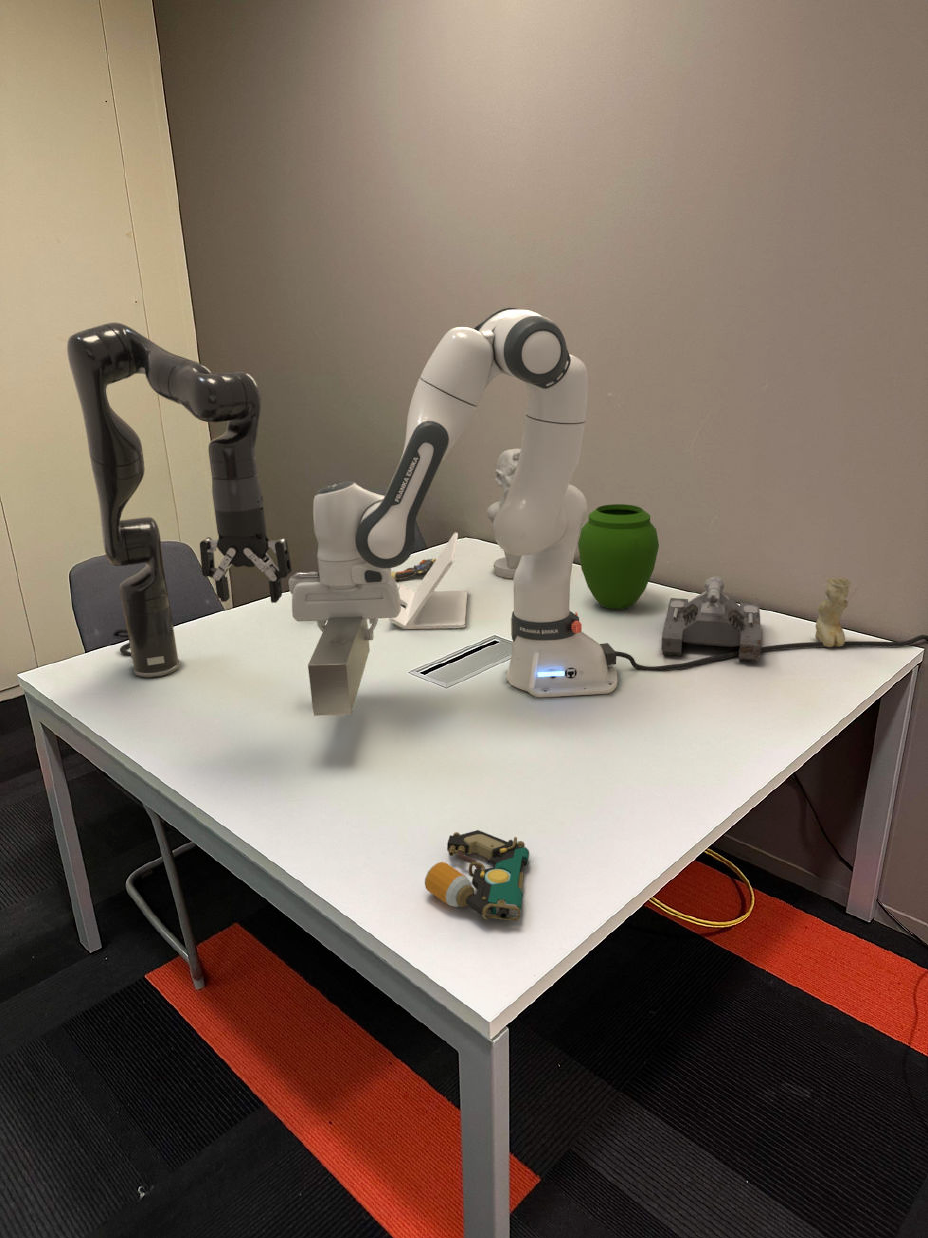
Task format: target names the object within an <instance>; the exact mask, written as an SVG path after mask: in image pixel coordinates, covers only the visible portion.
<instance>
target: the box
mask: <svg viewBox="0 0 928 1238" xmlns="http://www.w3.org/2000/svg"><path fill="white" fill-rule="evenodd" d="M325 625H326V626H325V628H324V631H323V632H321V635H320V637H319V640H318V642H317V644H316V647H315V649H314V650H313V653H312V656H311V658H310V660H309V662H308V664H307V669H308V679H309V687H310V688H309V689H310V696H311V705H312V712H313V713H312V714H313V717H317V716H318V717H320V716H323V717H324V716H344V715H345V716H346V715H347V716H348V715H352V713H353V709H354V706H355V704H356V703H355V702H356V699H357V696H358V692H359V688H360V686H361V683H362V682H361V681H362V678H363V675H364V671H365V668H366V665H367V661H368V658H369V654H370V651H371V650H370V640H365V630H366V629H369V625H368V619H363V617H337V618H329V619H328V620H327V621H326V623H325Z"/></svg>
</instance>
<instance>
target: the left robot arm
mask: <svg viewBox="0 0 928 1238" xmlns="http://www.w3.org/2000/svg"><path fill="white" fill-rule="evenodd" d="M66 344H67V345H66V346H67V347H66V352H67V359H68V364H69V368H70V371H71V375H72V378H73V382H74V386H75V389H76V392H77V396H78V400H79V403H80V407H81V411H82V416H83V421H84V428H85V432H86V439H87V446H88V454H89V459H90V460H89V461H90V466H91V471H92V475H93V479H94V484H95V488H96V493H97V499H98V505H99V512H100V524H101V535H102V543H103V549H104V553H105V556H106V558H107V561H108V562H109V563H110V564H111V565H112V566H116V567H124V566H126V567H127V566H132V565H139V564H145V566H144V567H143V568H142V569H141V570H139V572H137V573H135V574H134V575H131V576H130V577H127V578H126V579H124V580H123V581H122V582H121V583H120V584H119V594H120V599H121V605H122V610H123V615H124V622H125V627H126V628H119V629H117V630H115V632H114V633H113V636H118V635H119V634H122V633H123V634H127V639H128V642H127V643H125V644H123V645H121V646H120V648H119V652H120V653H121V654H123V655H124V656H127V657H131V661H132V665H133V667H132V668H133V674H134V675H135V676H137V677H139V678H160V677H164V676H166V675H167V676H168V675H170V674H172V673H174V672H176V671H177V670H179V668H180V666H181V665H180V660H179V655H178V649H177V648H178V647H177V641H176V635H175V629H174V623H173V618H172V617H173V616H172V612H171V611H172V610H171V604H170V598H169V592H168V586H167V582H166V575H165V569H164V560H163V551H162V541H161V535H160V529H159V526H158V523H157V521H156V520H155V519H154V518H153V517H150V516H143V517H137V518H136V517H135V518H128V519H127V518H126V519H121V518H122V514H123V512H124V509H125V507H126V505H127V504H128V502H129V501H130V499H131V498H133V496H134V494H135V493H136V491H137V489H138V488H139V486H140V485H141V483H142V480H143V478H144V475H145V461H144V452H143V451H144V450H143V445H142V441H141V439H140V436H139V434H137V432H136V431H135V430H134V428H132V427H131V426H130V424H129V423H127V421H125V420H124V419H122V417H120V416H119V415H118V414H117V413H116V412H115V411H114V409H113V408H112V407H111V405H110V403H109V400H108V395H107V394H108V393H107V389H108V386H109V385H113V384H114V383H117V382H121V381H123V380H126V379H128V378H131V377H132V376H134V375H138V374H140V375H145V379H146V381H147V383H148V386H150V388H151V389H152V390H153V391H154V392H155V393H156V395H159V396H160V397H161V398H163V399H165V400H168V401H171V402H173V403H176V404H178V405H181V406H183V407H184V409H185V410H187V412H189V413H190V414H191V415H192V416H193V417H194V418H196V419H197V420H199V421H201V422H205V423H212V424H213V423H214V424H215V423H222V422H227V426H226V430H225V432H224V433H222V434H221V435H219V436H217V437H215V438H213V439H212V440H210V442H209V443H208V446H207V447H208V450H207V451H208V459H209V467H210V474H211V493H212V501H213V509H214V517H215V524H216V531H217V536H218V538H217V539H213V538H212V537H208V536H207V537H206V538H205V539H203V540H201V541H200V542H199V552H200V566H201V573H202V574H201V575H202V576H203V577H204V578H207V577H209V578H212V579H213V580H214V584H215V591H216V596H217V599H220V602H221V603H222V602H223V603H227V601H229V600H230V598H231V596H230V587H229V580H228V579H229V578H228V576H226V575H227V573H228V571H229V570H230V568H231V567H232V566H233V567H234V568H241V567H247V568H254V567H256V568H257V569H258V570H259V571H260V572H262V573H263V574H265V576H266V577H267V578H268V579H269V581H268V587H269V588H268V589H269V598H270V603H275V604H276V603H278V602H279V601H280V599H281V598H282V596H283V588H282V579H284V578H287V577H288V576H289V574H291V573H292V571H293V569H292V564H291V558H290V551H289V546H288V545H289V544H288V540H287V539H286V538H285V537H281V538H280V539H271V540H269V537H268V535H267V528H266V517H265V509H264V495H263V492H262V486H261V482H260V481H261V480H260V478H259V472H258V462H257V452H256V443H257V438H258V430H259V425H260V417H261V409H262V396H261V391H260V387H259V385H258V383H257V381H256V380H255V379H254V377H253V376H251V375H250V373H248V372H245V371H241V370H235V371H226V372H217V373H213V372H212V371H211V370H210V369H209V368H208V367H206V366H205V365H203V364H202V363H200V362H198V361H195V360H191V359H188V358H186V357H184V356H180V355H177V354H175V353H172V352H170V351H168V350H166V349H164V348H162V347H161V346H159V345H158V344H157V343H155V342H154V341H152V340H151V339H149V338H148V337H145V335H142V334H141V333H139V331H137V330H135V329H133V328H131V327H130V326H128V325H126V324H124V323H120V322H108V323H104V324H101V325H100V324H99V325H97V326H94V327H90V328H87V329H84V330H80V331H78V332H75V333H73V334H72V335H70V336H69V338H68V340H67V343H66ZM269 549H271V551H272V552H273V554H275V555H276V560H277V565H276V564H275V562H274V560H273V559H272V558H271V556H270V555H269V554H268V553H267V552H268V550H269ZM217 550H218V551H219V552H220V553H221V554H222V555H223V556H224V557H223V558H222V560H221V561H220V562H219V565H218V566H217V567H216V566H215V565H216V564H215V552H216V551H217ZM128 648H129V649H130V651H128V650H126V649H128Z"/></svg>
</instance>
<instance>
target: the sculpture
mask: <svg viewBox="0 0 928 1238" xmlns="http://www.w3.org/2000/svg"><path fill="white" fill-rule="evenodd" d="M826 581H827V586H826V588H825V590H824V593H825V595H826V596H827V598H826V600H824V601H822V602H821V603H820V604H819V605H818V606H817V609H816V610H817V612H818V614H819V616H818V617H817V619H816V623H815V630H816V631H815V634H814V635H815V639H817V640H819V642H823V645H824V646H823V647H827V648H832V647H843V646H842V645H844V643H845V641H846V636H845V632H844V630H843V626H842V624H841V622H840V621H841V617H842V615H843V612H844V610H845V609H846V608H847V606H848V604H849V603H848V602H849V601H847V598H848V597H849V592H850V586H851V585H852V582H850V580H848V579H847V578H845V577H841V576H840V577H835V578H831V577H827V578H826ZM834 645H835V646H834Z"/></svg>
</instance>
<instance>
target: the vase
mask: <svg viewBox="0 0 928 1238" xmlns="http://www.w3.org/2000/svg"><path fill="white" fill-rule="evenodd" d="M587 516H588V517H587V518H588V521H587V522H586V523H585V524H584V525H582V526H581V529H580V532H579V537H578V541H577V546H578V554H579V562H580V569H581V571H582V574H583V577H584V580H585V583H586V585H587V588H588V590H589V591H590V594H592V597H593V598H594V600H595V601H596V602H597V603H598V604H599V605H600V606H602V607H604V608H606V609H609V610H625V609H628V608H630V607H632V606H634V604H636V602H638V601H639V599H640V597H641V596H642V595H643V593H644V592H645V590H646V588H647V586H648V584H649V581H650V579H651V577H652V574H653V572H654V570H655V566H656V562H657V557H658V552H659V548H660V544H659V543H660V542H659V537H658V531H657V528H656V527H655V526H654V524H653V523H652V522H651V515H650V514H649V512H647V511H645V510H644V509H643V508H642V507H641V506H638V505H633V504H622V503H621V504H619V503H616V504H615V503H614V504H604V505H601V506H598V507H597V508H595V509H594V510H592V511H591V512H590V513H589V514H588V515H587Z"/></svg>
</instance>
